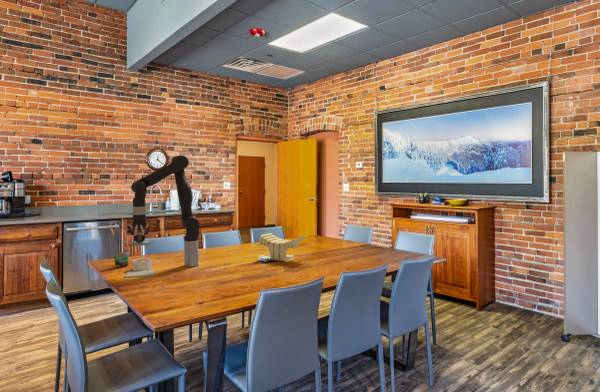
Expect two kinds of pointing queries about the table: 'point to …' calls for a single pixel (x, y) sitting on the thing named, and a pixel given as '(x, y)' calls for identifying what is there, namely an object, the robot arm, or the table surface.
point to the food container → (121, 259)
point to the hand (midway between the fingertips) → (139, 241)
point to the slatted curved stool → (279, 246)
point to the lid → (139, 241)
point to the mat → (140, 273)
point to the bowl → (142, 264)
